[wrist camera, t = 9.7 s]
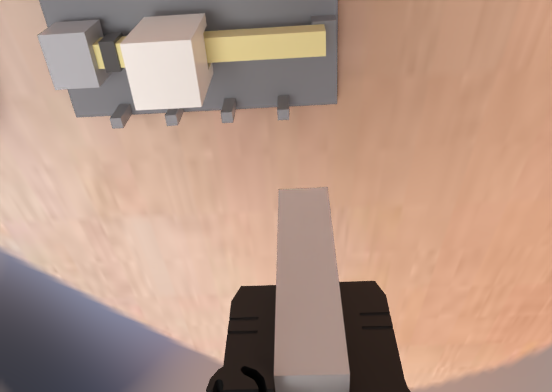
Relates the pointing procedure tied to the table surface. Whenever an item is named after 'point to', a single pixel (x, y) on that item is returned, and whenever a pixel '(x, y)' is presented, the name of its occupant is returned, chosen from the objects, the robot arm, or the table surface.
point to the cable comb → (219, 50)
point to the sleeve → (167, 62)
